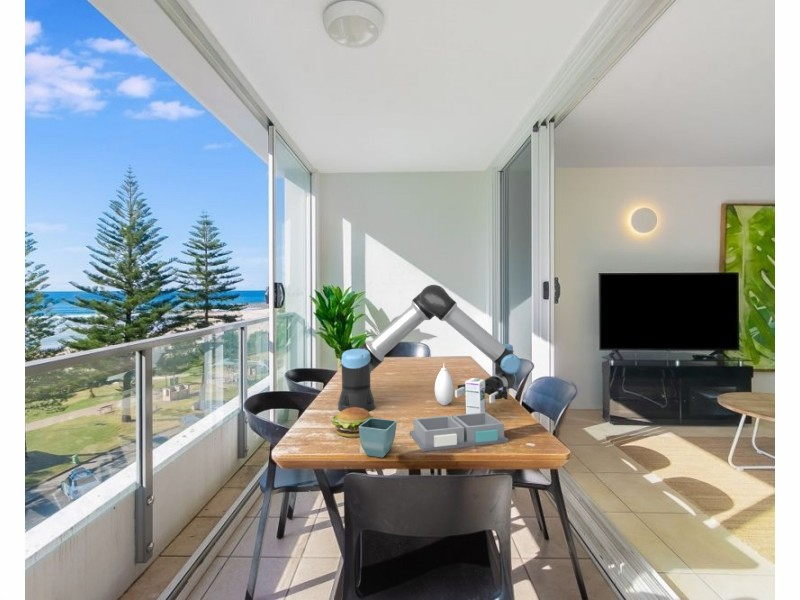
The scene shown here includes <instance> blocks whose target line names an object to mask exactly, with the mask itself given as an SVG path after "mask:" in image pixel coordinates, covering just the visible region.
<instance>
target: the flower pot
mask: <svg viewBox="0 0 800 600" xmlns="http://www.w3.org/2000/svg"><path fill="white" fill-rule="evenodd" d="M397 422H398V421H397V420H395V419H393V420H392V419H386V418H376V417H373V418H370V419H368V420H367V421H366V422H364V423H363V424H361V425H360V426H359V433H360V437H359V438H360V445H361V447H362V449H363V451H364V453H365V454H366V456H368V457H369V456H370V457H375V458H384V457H385V456H386V455H387V454H388V453H389V452H390V450H391V449H392V446H393V444H394V442H395V439H396V430H397Z"/></svg>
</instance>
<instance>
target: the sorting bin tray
mask: <svg viewBox="0 0 800 600" xmlns="http://www.w3.org/2000/svg"><path fill="white" fill-rule="evenodd" d="M409 436H410V437H411V436H412V437H411V438H412V439H413V441H414V440H415V441H414V442H415V443H416V444H417V446H418V447H419V449H420V450H421V451H422V452H423V453H424V452H431V451H432V452H433V451H439V450H440V451H441V450H449V449H458V448H466V447H477V446H485V445H494V444H504V443H509V438H508V437H506V436H505V423H504V422H502V421H500V420H499V419H498V418H495V417H494V416H493V415H491V414H489V413H488V412H487V411H486V412H484V413H473V414H466V413H464V414H453V415H441V416H431V417H421V418H420V417H417V418H413V430H410V431H409Z"/></svg>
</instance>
